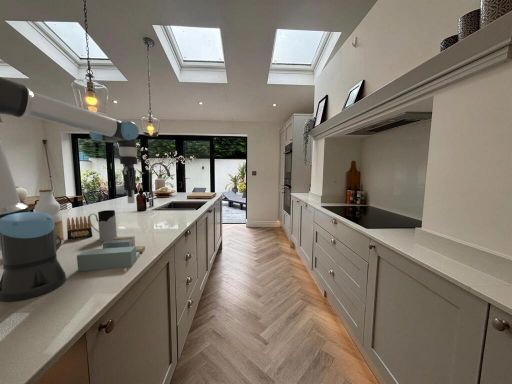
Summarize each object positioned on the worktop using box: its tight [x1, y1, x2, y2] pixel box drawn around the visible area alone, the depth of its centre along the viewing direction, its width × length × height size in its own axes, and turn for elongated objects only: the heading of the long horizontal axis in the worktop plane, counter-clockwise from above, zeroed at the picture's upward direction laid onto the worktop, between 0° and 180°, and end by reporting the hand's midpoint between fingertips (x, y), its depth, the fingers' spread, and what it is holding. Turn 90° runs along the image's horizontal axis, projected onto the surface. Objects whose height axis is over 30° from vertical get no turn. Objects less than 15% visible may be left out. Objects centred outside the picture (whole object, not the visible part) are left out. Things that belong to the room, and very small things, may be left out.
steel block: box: [101, 239, 133, 249], centre depth 94 cm, size 4×10×7 cm, turn 102°
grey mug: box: [88, 209, 119, 242], centre depth 119 cm, size 9×14×15 cm, turn 89°
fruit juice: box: [34, 188, 65, 246], centre depth 107 cm, size 9×9×28 cm
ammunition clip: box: [66, 215, 94, 241], centre depth 120 cm, size 11×2×12 cm, turn 122°
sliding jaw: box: [113, 235, 146, 254], centre depth 99 cm, size 7×18×6 cm, turn 102°
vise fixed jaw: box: [76, 245, 141, 272], centre depth 87 cm, size 10×18×6 cm, turn 102°
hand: (131, 203), depth 112 cm, fingers closed
